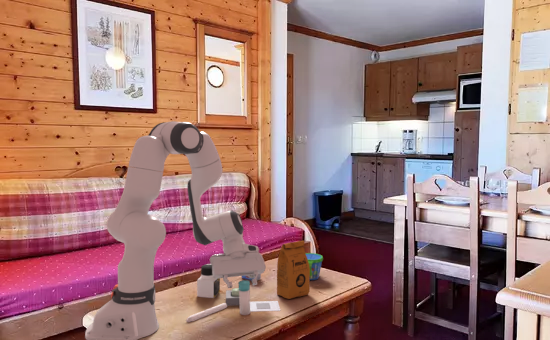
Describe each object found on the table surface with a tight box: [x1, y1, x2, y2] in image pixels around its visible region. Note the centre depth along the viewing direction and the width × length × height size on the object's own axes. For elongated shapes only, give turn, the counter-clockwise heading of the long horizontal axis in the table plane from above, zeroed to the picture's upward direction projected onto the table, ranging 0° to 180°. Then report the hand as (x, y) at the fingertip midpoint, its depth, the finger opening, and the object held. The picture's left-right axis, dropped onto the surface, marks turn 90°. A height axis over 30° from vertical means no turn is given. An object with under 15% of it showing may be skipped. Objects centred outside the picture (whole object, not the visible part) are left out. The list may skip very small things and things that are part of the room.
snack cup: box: [305, 252, 324, 281], centre depth 190 cm, size 16×10×10 cm
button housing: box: [225, 289, 240, 307], centre depth 162 cm, size 8×8×3 cm
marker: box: [185, 302, 228, 323], centre depth 150 cm, size 18×2×2 cm, turn 139°
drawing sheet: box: [250, 300, 281, 313], centre depth 158 cm, size 12×9×1 cm
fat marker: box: [237, 279, 251, 316], centre depth 151 cm, size 4×4×12 cm
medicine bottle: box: [196, 263, 221, 299], centre depth 169 cm, size 7×7×12 cm
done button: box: [231, 287, 239, 296], centre depth 162 cm, size 4×4×3 cm
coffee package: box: [276, 240, 311, 300], centre depth 169 cm, size 10×12×22 cm
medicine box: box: [241, 274, 262, 282], centre depth 188 cm, size 8×4×9 cm, turn 55°
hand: (242, 285), depth 154 cm, fingers open, 8 cm apart
